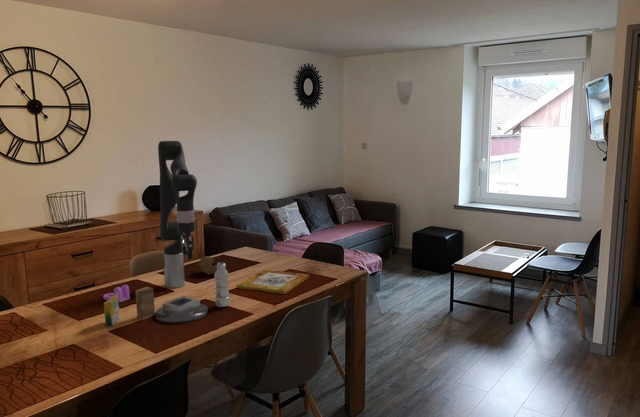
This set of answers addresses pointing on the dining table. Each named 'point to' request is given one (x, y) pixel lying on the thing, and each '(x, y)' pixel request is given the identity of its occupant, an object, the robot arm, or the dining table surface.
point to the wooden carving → (208, 265)
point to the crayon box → (111, 311)
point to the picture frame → (273, 281)
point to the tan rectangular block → (145, 303)
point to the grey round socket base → (181, 310)
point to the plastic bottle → (222, 286)
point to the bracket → (119, 293)
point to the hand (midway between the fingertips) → (187, 256)
